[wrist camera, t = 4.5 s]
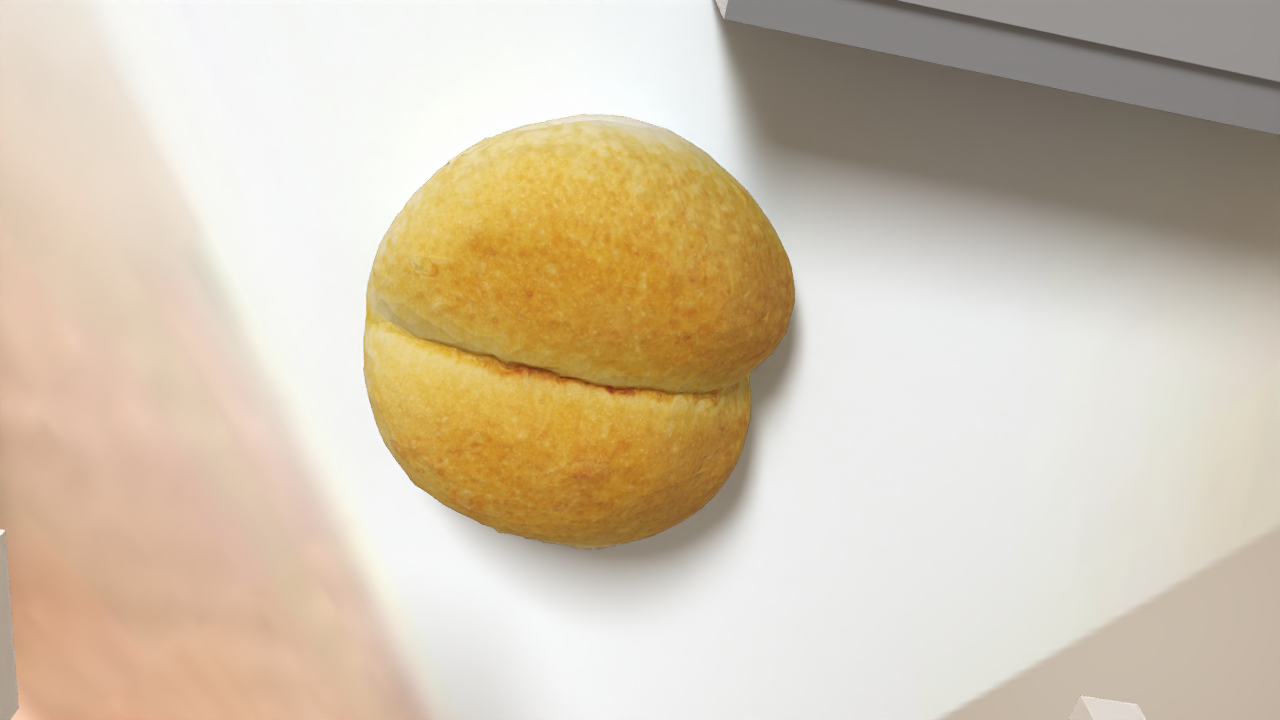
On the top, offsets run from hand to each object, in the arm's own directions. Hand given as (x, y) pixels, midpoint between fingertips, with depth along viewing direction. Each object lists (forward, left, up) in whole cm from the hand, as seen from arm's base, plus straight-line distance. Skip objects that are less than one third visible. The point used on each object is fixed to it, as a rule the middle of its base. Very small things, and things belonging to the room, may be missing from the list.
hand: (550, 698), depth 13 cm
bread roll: (0, 0, -11) cm, 11 cm away
